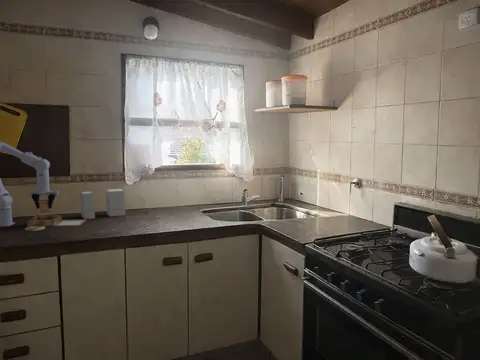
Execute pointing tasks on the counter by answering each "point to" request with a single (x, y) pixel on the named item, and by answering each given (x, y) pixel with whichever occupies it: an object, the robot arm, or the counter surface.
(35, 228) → the trivet
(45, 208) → the pot
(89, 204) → the skincare box
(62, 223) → the lid
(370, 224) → the counter surface
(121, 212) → the supplement box
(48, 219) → the cold frame
